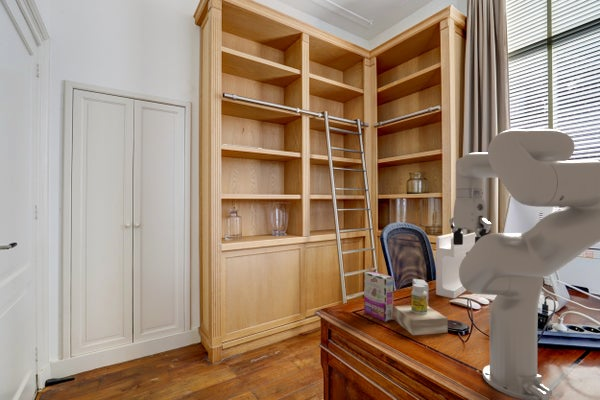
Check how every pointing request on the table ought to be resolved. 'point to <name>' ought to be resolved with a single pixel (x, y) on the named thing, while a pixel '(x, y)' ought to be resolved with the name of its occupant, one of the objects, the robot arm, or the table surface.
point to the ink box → (417, 281)
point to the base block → (420, 321)
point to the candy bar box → (378, 295)
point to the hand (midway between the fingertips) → (468, 247)
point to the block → (450, 264)
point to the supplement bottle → (419, 299)
